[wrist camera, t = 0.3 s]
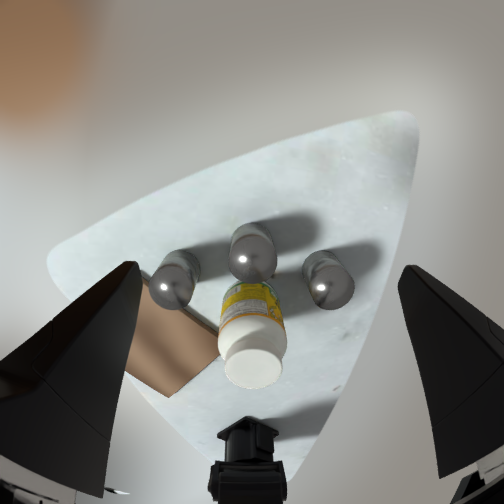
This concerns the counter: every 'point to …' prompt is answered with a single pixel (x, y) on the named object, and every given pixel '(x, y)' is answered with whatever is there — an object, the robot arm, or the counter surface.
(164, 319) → the walnut board
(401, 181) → the counter surface
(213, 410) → the counter surface
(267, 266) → the standoff posts
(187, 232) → the counter surface
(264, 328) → the supplement bottle
